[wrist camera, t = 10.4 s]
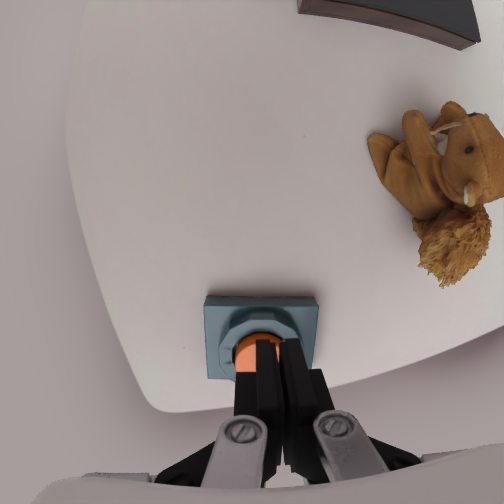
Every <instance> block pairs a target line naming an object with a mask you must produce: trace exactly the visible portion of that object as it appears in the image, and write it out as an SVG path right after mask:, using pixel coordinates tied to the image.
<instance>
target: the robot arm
mask: <svg viewBox="0 0 504 504" xmlns="http://www.w3.org/2000/svg"><path fill="white" fill-rule="evenodd" d="M282 446H283V453H284V462H285V465H290V466H291V472H292V473H294V472H296V473H297V474H299V475H301V476H303V477H304V479H303V480H304V485H305V486H295V487H281V488H265V485H266V481H267V480H269V479H270V478H271V477H272V476H274V475H275V474H276V468H277V466H278V465H280V463H281V453H282ZM32 504H504V443H500V444H490V445H484V446H479V447H476V448H471V449H465V450H457V451H450V452H442V453H433V454H424V455H422V457H421V458H418V457H417V456H415V455H413V454H412V453H409V452H407V451H404V450H401V449H399V448H396V447H394V446H391V445H388V444H386V443H383V442H381V441H378V440H376V439H374V438H371V437H369V436H367V435H366V433H365V431H364V430H363V428H362V427H361V425H360V423H359V422H358V420H357V419H356V418H355V417H354V416H353V415H351V414H350V413H348V412H344V411H340V410H335V408H334V405H333V402H332V399H331V397H330V393H329V390H328V387H327V385H326V382H325V379H324V376H323V373H322V370H321V369H308V367H307V363H306V360H305V356H304V353H303V349H302V346H301V342H300V339H299V338H285V340H284V342H279V363H278V356H277V350H276V343H275V342H270V339H256V372H236V382H235V401H234V417H231V418H229V419H227V420H226V421H224V423H222V425H221V427H220V429H219V432H218V435H217V438H216V441H214V442H212V443H211V444H209V445H208V446H206V447H204V448H202V449H201V450H199V451H198V452H196V453H194V454H192V455H190V456H189V457H187V458H185V459H183V460H182V461H180V462H178V463H176V464H174V465H173V466H171V467H169V468H167V469H165V470H163V471H162V472H161V473H159V474H158V475H156V476H155V475H154V476H150V475H149V473H88V474H85V475H83V476H82V477H77V478H67V479H62V480H58V481H55V482H52V483H51V484H49V485H47V486H46V487H45V488H44V489H43V490H42V491H41V492H40V493H39V494H38V495H37V497H36V498H35V500H34V501H33V503H32Z"/></svg>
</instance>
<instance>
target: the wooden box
mask: <svg viewBox="0 0 504 504" xmlns="http://www.w3.org/2000/svg"><path fill="white" fill-rule="evenodd" d="M297 2H298V13H300V14H310V15H318V16H326V17H333V18H340V19H346V20H351V21H357V22H362V23H367V24H372V25H376V26H381V27H385V28H389V29H393V30H397V31H401V32H405V33H408V34H412V35H415V36H419V37H422V38H425V39H428V40H431V41H435V42H437V43H440V44H443V45H446V46H449V47H452V48H454V49H457V50H460V51H461V50H463V49H465V48H467V47H469V46H472V45H474V44H476V42H475V41H473V40H471V39H468V38H466V37H463V36H461V35H459V34H456V33H454V32H451V31H448V30H446V29H443V28H440V27H437V26H435V25H432V24H429V23H426V22H423V21H420V20H416V19H413V18H410V17H407V16H403V15H399V14H396V13H392V12H388V11H384V10H380V9H376V8H372V7H367V6H362V5H357V4H352V3H347V2H341V1H335V0H297Z"/></svg>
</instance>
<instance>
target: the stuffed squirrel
mask: <svg viewBox="0 0 504 504" xmlns="http://www.w3.org/2000/svg"><path fill="white" fill-rule="evenodd" d="M402 127H403V132H404V135H405V138H406V141H404V142H402V143H400V142H398V141H397V140H395V139H393V138H391V137H389V136H386V135H383V134H378V133H372V134H371V135H370V137H369V138H368V147H369V151H370V154H371V157H372V160H373V162H374V165H375V168H376V171H377V173H378V176H379V178H380V180H381V182H382V184H383V185H384V186H385V188H387V189H388V190H389V192H390V193H391V194H392V195H393V196H394V197H395V198H396V199H397V200H398V201H399V202H400V203H401V204H402V205H403V206H404V207H405V208H406V209H407V210H408V211H409V212H410V213H411V214H413V215H414V219H413V220H412V221H413V222H412V223H413V231H416V232H417V235H418V237H419V238H420V239H421V240H422V243H421V245H420V249H419V250H418V252H419V254H420V261H421V263H420V264H419V265H418V266H417V267H424V269H428V275H429V273H431V272H432V273H434V275H435V276H437V278H438V281H439V282H440V281H441V280H442V279H443V281H442V283H441V284H440V285H439V287H441V288H442V289H444V286H445V285H447V287H449V284H450V283H452V285H453V284H454V285H455V283H456V282H457V281H460V280H461V278H462V276H465V274H466V273H467V272H468V271H469V269H472V268H473V269H474V268H475V266H477V264H478V262H479V261H480V260H481V259H482V255H483V256H486V252H485V250H487V249H488V245H489V243H488V241H489V240H490V239H489V238H490V237H491V236H490V227H491V226H492V225H491V222H492V221H491V220H489V219H488V218H489V216H488V214H487V213H486V210H485V208H484V207H483V204H485V203H489V202H492V201H494V200H497V199H499V198H502V197H504V138H503V137H502V136H501V134H500V133H499V131H498V130H497V129H496V128H495V126H494V125H493V123H492V122H491V121H490V120H489V116H488V115H487V114H486V113H485V115H483V114H480V113H476V112H474V113H471V114H467V113H466V111H465V110H464V109H463V108H462V107H461V106H460V105H458V104H457V103H456V102H453V101H449V102H447V103H446V104H445V105H443V107H442V109H441V116H440V117H439V119H438V120H437V122H436V123H435V125H434V127H433V128H432V129H431V128H430V126H429V124H428V122H427V121H426V119H425V117H424V116H423V114H422V113H420V112H419V111H418V110H411V111H407V112H406V113H405V114H404V115H403V118H402ZM491 228H492V227H491Z"/></svg>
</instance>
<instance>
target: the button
mask: <svg viewBox="0 0 504 504" xmlns="http://www.w3.org/2000/svg"><path fill="white" fill-rule="evenodd" d="M256 339H270V342H275V343H276V350H277V356H278V363H279V342H282V341H281V340H280V339H279V338H278V337H276V336H274V335H272V334H268V333H255V334H252V335H249V336H247V337H246V338H244V339H243V340H242V341H241V342H240V343H239V345H238V346H237V349H236V356H235V368H236V371H237V372H256Z"/></svg>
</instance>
